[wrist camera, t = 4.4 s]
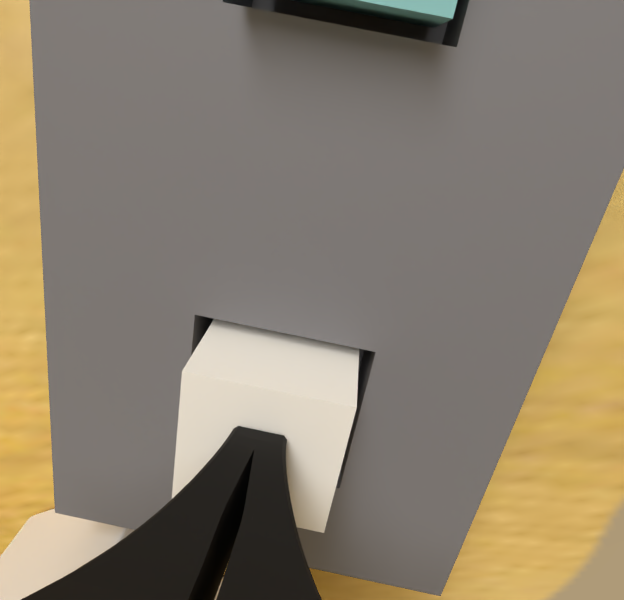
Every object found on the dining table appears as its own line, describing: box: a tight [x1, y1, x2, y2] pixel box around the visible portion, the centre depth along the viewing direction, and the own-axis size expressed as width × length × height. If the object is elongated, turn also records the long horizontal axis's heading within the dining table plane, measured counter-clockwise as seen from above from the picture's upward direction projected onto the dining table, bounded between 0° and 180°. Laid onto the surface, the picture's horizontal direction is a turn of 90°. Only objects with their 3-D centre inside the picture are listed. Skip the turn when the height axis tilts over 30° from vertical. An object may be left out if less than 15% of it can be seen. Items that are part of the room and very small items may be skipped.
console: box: [30, 0, 624, 596], centre depth 15 cm, size 14×26×4 cm, turn 170°
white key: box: [172, 319, 359, 533], centre depth 15 cm, size 4×4×3 cm
